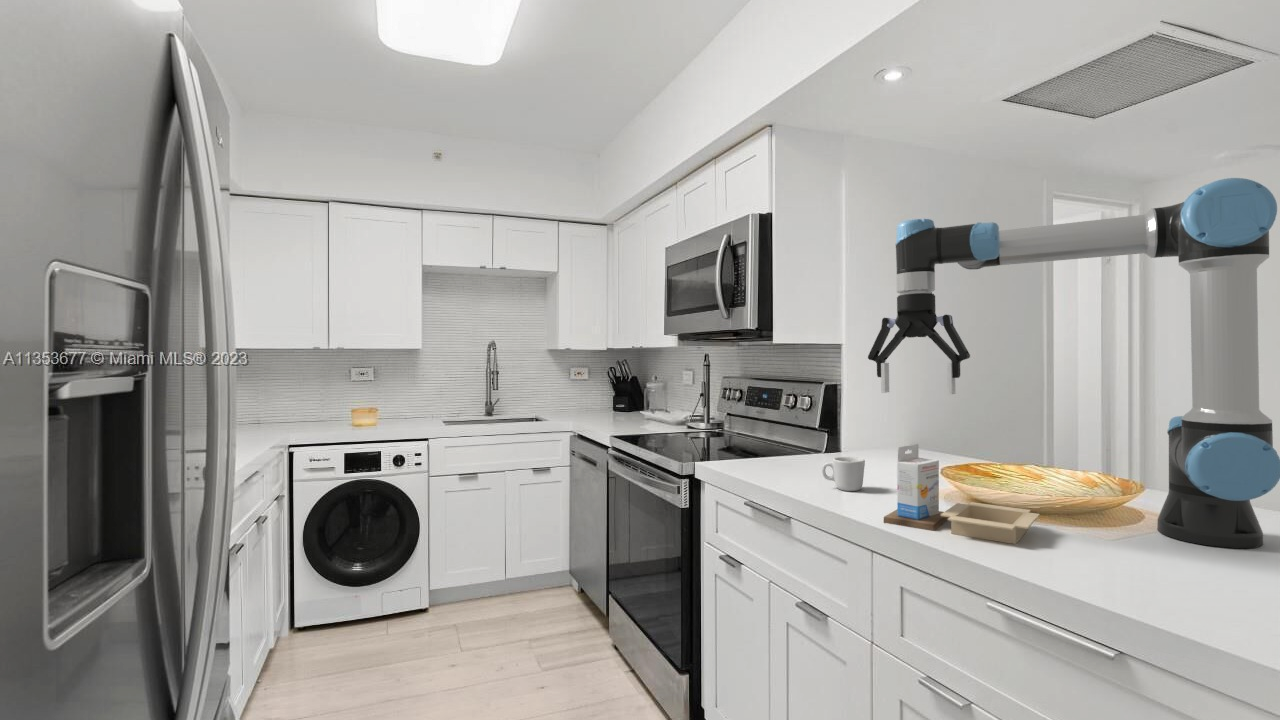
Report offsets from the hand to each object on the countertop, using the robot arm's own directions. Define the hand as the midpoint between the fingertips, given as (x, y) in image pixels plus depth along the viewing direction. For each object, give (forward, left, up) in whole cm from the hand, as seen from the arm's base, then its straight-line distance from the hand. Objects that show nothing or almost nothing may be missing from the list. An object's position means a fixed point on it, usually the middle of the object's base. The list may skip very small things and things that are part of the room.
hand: (917, 393), depth 137 cm
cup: (+25, -20, -28) cm, 42 cm away
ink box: (0, 0, -26) cm, 26 cm away
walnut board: (0, 0, -27) cm, 27 cm away
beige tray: (-14, 0, -27) cm, 31 cm away
